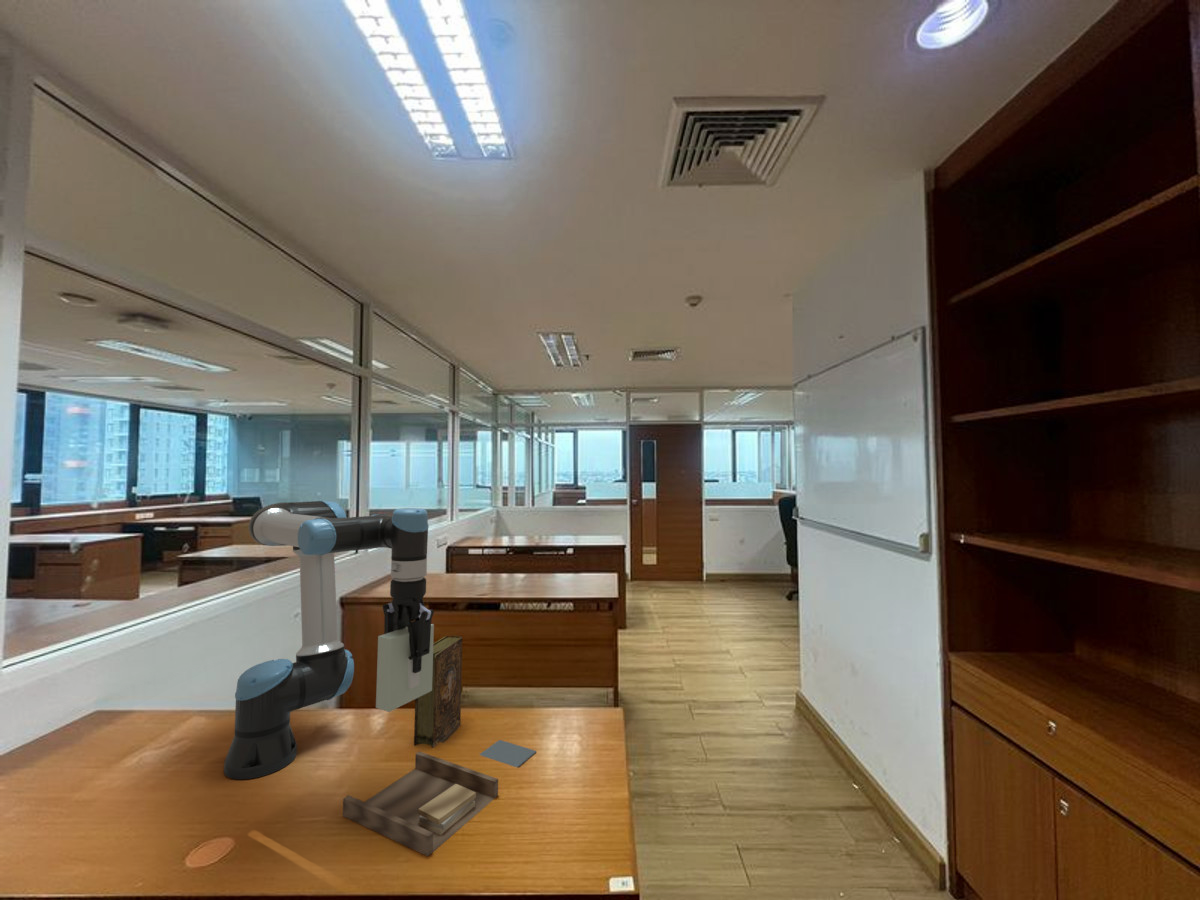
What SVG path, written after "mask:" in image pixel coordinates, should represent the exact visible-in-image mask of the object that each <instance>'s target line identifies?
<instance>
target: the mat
mask: <svg viewBox="0 0 1200 900" xmlns="http://www.w3.org/2000/svg"><path fill="white" fill-rule="evenodd" d="M536 754H537V750H534V749H531V748H528V747H525V746H521V745H518V744H514V743H512V742H508V741H505V740H501V739H499V740H497V741H496V742H494V743H493V744H492V745H490V746H489V747H488V748H486V749H485V750H484V751H482V752H480V753H479V756H481V757H484V758H487V759H490V760H494V761H496V762H499V763H502V764H505V765H509V766H511V767H515V768H517V769H519V768H520V767H521V766H522V765H524V764H525V763H526V762H527V761H528V760H529V759H531V758H532V757H533V756H534V755H536Z"/></svg>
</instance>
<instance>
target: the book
mask: <svg viewBox="0 0 1200 900" xmlns="http://www.w3.org/2000/svg"><path fill="white" fill-rule="evenodd" d="M462 657H463V636H460V635H444V636H443V637H441V638H440V639H438V640H437V641H434V642H433V675H432V691H430V692H428V693H426V694H424V695H422V696H420V697H418V698H416V699H414V727H413V728H414V731H413V746H414V747H416V746H417V745H423V744H426V745H429V746H431V748H432V749H433V748H435V747H436V746H437V745H438V744H439V743H442V744H444V743H446V741H447V740H448V739H449V738H450V737H452V735H453V734H454V733H455V732H456V731H457V730H458V729H459V728H460V727H461V718H462V717H461V715H462V713H461V711H462V709H461V708H462V666H463V659H462Z"/></svg>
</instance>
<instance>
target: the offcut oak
mask: <svg viewBox="0 0 1200 900" xmlns="http://www.w3.org/2000/svg"><path fill="white" fill-rule="evenodd" d="M474 798H476V792H473V791H471V790H469V789H467V788H465V787H462V786H460V785H458V784H455V785H453V786H452V787H450V788H449V789H447V790H446V791H444V792H443V793H441V794H440V795H438V796H437V797H435V798H434V799H432V800H431V801H429V802H428V803H426V804H425V805H423V806H422V807H420V808H419V809H418V814H419V815H421V816H423V817H425V818H427V819H429V820H431V821H433V822H435V823H436V824H438V825H439V824H440V823H442V822H443V821H444V820H446V819H447V818H449V817H450V816H451V815H453V814H454V813H455V812H457V811H458V810H459V809H461V808H462V807H464V806H465V805H466V804H468V803H469V802H470V801H472V800H473V799H474Z"/></svg>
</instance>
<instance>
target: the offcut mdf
mask: <svg viewBox="0 0 1200 900" xmlns="http://www.w3.org/2000/svg"><path fill="white" fill-rule="evenodd" d="M473 801H474V799H473V800H472V801H470V802H469V803H468V804H466V805H465V806H464V807H462V808H461V809H459V810H458V811H457V812H455V813H454V814H453V815H451V816H450V817H449V818H447V819H446V820H444V821H443V822H442V823H440V824H439V825H438V824H436V823H435V822H433V821H431V820H429V819H427V818H425V817H423V816H419V822H422V823H425V824H428V825H431V826H434V827H437V828H440V829H442V830H444V829H445V828H446V827H447V826H448V825H449V824H450V823H451V822H452V821H453V820H454V819H455V818H456V817H457V816H458V815H459V814H460V813H461V812H462V811H463V810H464V809H465V808H466V807H468V806H469V805H470V804H471V803H472V802H473Z"/></svg>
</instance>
